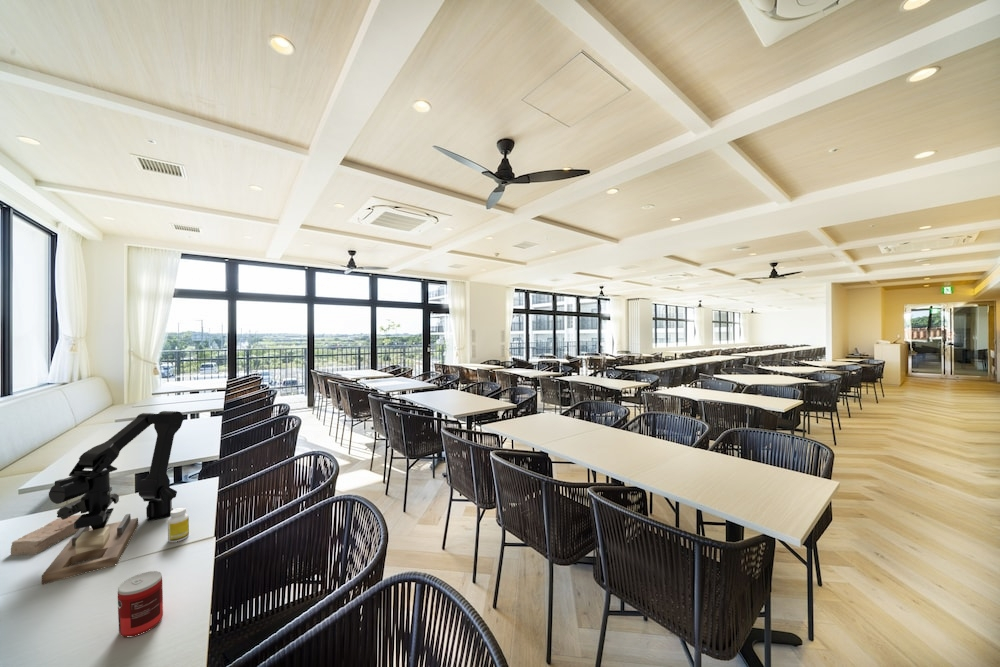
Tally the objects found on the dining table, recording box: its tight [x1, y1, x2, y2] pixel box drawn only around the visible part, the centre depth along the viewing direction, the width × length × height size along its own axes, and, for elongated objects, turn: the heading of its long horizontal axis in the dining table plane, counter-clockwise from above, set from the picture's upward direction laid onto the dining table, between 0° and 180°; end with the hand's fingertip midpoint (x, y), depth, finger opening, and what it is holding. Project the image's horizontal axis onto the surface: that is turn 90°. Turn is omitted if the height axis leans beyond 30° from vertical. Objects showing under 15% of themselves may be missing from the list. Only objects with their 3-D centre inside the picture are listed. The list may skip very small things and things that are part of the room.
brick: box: [10, 514, 82, 556], centre depth 126 cm, size 17×8×5 cm, turn 7°
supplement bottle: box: [167, 507, 190, 543], centre depth 127 cm, size 5×5×10 cm
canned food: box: [117, 570, 164, 638], centre depth 90 cm, size 8×8×11 cm
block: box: [76, 527, 110, 554], centre depth 118 cm, size 6×6×4 cm
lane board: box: [41, 513, 139, 585], centre depth 120 cm, size 15×28×5 cm, turn 34°
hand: (98, 535), depth 122 cm, fingers closed
